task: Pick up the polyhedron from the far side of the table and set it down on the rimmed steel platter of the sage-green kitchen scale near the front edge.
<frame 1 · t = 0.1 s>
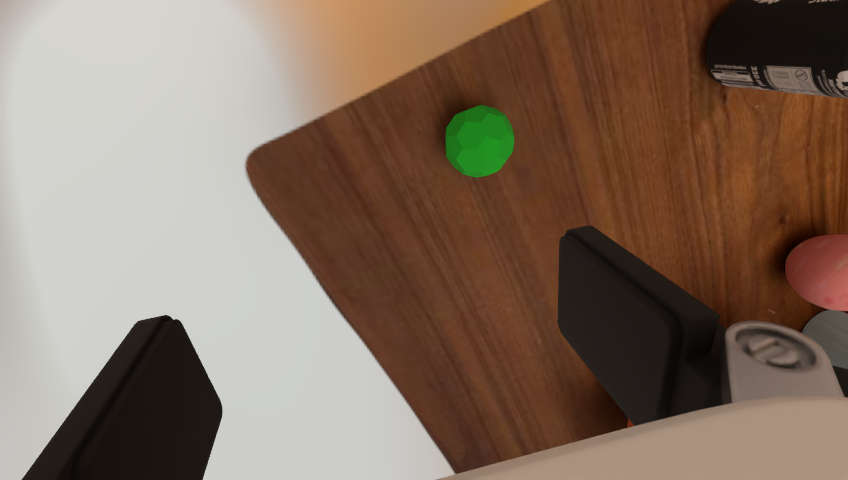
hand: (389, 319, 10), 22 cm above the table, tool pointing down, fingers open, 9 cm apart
apple: (795, 253, 44), on the table
polyhedron: (468, 134, 32), on the table
cup: (818, 326, 50), on the table
beverage can: (734, 41, 33), on the table
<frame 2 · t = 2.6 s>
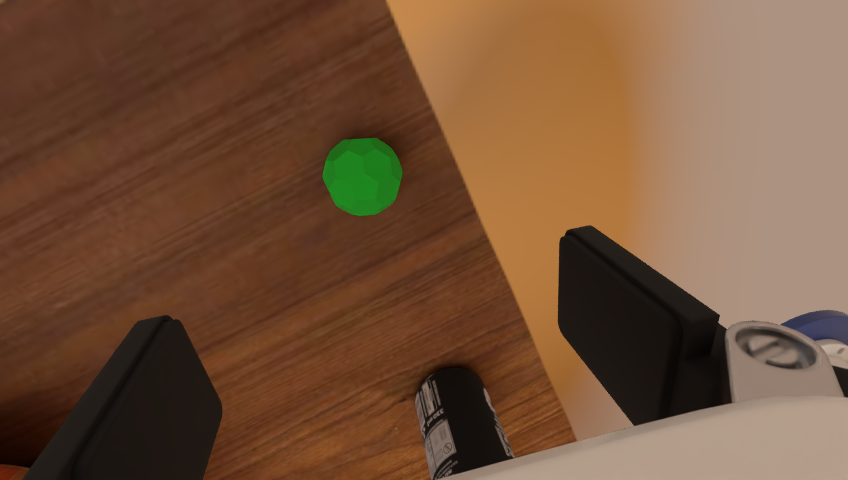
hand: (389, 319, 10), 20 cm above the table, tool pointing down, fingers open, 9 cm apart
polyhedron: (361, 166, 28), on the table
beverage can: (447, 388, 39), on the table
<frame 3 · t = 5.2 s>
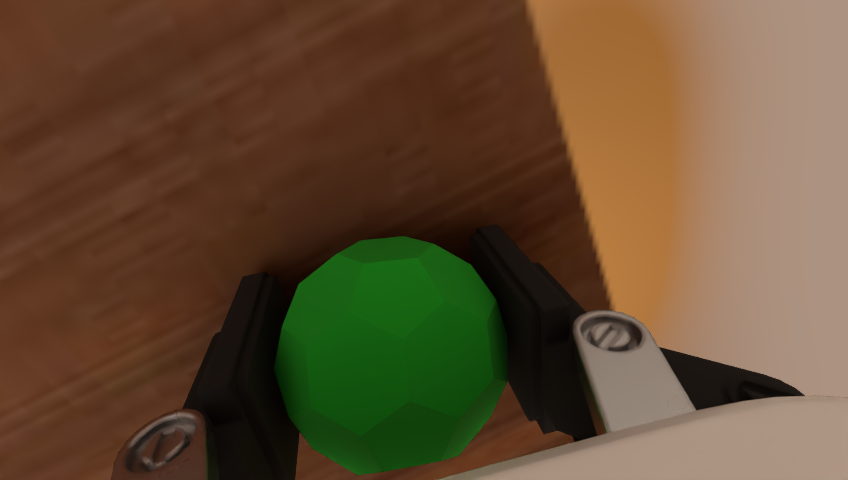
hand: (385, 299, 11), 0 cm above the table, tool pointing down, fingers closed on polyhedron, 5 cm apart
polyhedron: (382, 287, 11), on the table, touching gripper
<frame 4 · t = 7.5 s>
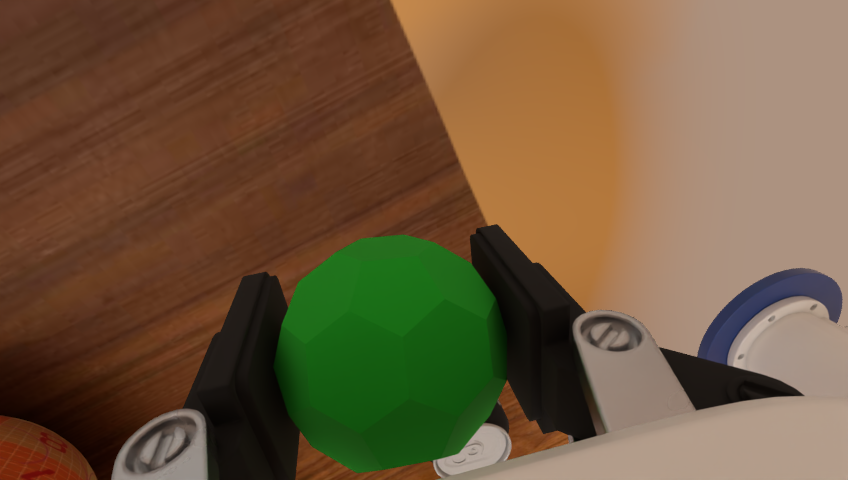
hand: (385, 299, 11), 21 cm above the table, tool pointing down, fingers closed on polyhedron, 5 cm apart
polyhedron: (382, 286, 11), point 20 cm above the table, touching gripper
bowl: (9, 448, 35), on the table
beverage can: (434, 343, 39), on the table
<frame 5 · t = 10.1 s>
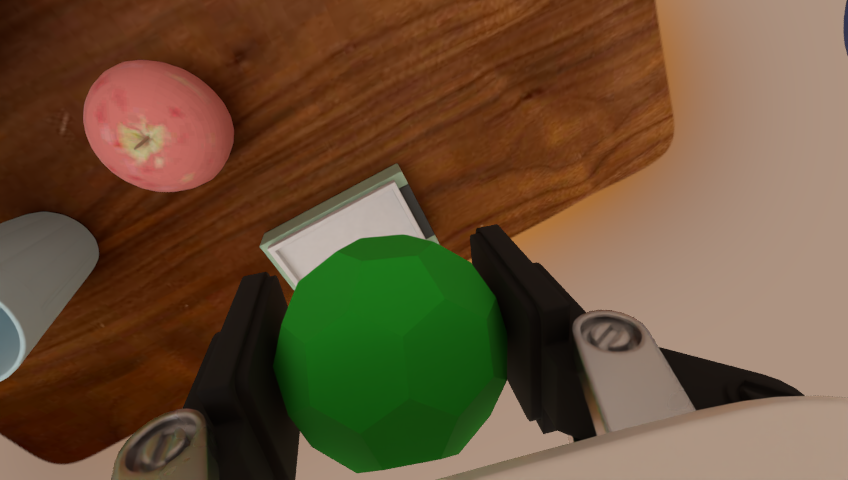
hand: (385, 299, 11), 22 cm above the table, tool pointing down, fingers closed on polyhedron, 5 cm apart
apple: (187, 118, 28), on the table
polyhedron: (382, 286, 11), point 22 cm above the table, touching gripper
cup: (57, 244, 30), on the table
scale: (352, 233, 34), on the table
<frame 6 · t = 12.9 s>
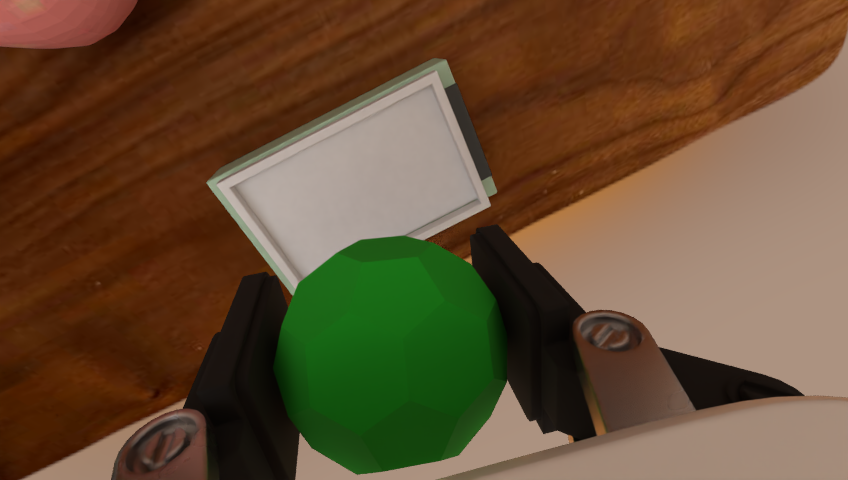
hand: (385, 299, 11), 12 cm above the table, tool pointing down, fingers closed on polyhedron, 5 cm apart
polyhedron: (382, 287, 11), point 12 cm above the table, touching gripper
scale: (360, 174, 22), on the table
when the fingers open (3 cm above the table, at t = 15.2 s): polyhedron stays where it is, resting on scale.
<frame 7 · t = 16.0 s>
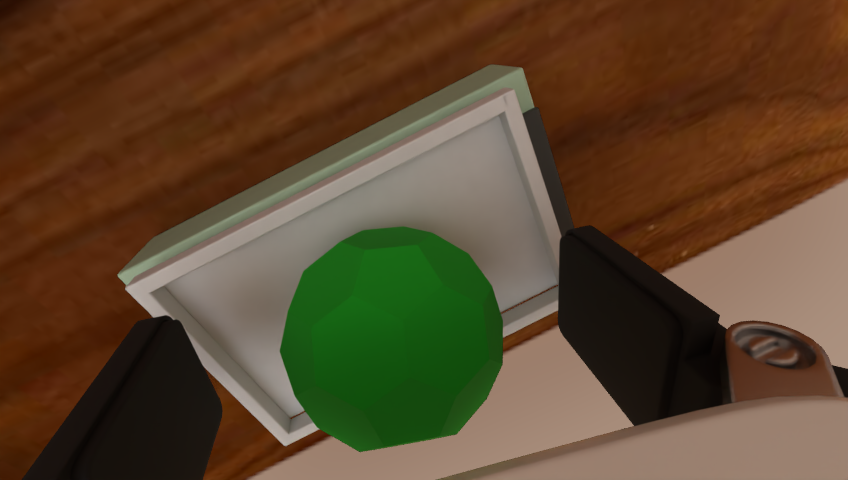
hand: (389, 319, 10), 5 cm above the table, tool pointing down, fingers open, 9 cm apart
polyhedron: (383, 277, 12), point 3 cm above the table, touching scale
scale: (372, 239, 14), on the table
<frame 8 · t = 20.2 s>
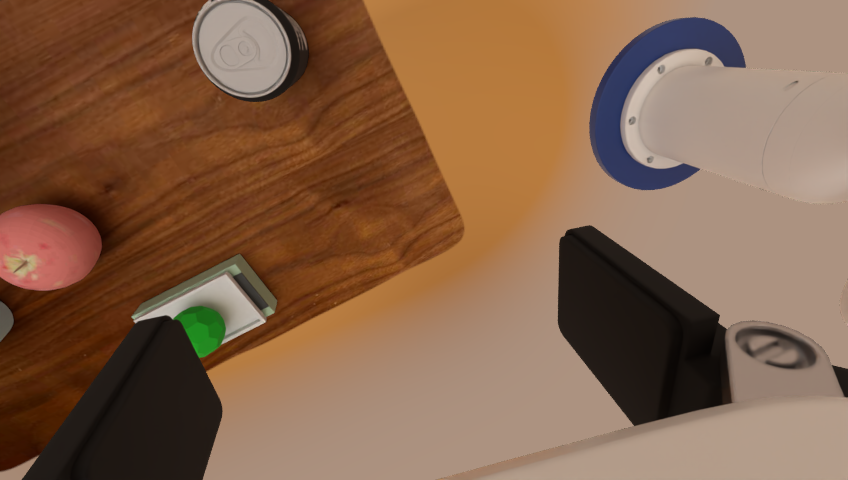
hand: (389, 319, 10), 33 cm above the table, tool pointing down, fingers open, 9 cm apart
apple: (74, 228, 39), on the table
polyhedron: (205, 316, 43), point 3 cm above the table, touching scale
beverage can: (270, 48, 36), on the table
scale: (211, 302, 45), on the table
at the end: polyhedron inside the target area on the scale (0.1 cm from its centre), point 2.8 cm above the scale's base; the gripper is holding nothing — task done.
